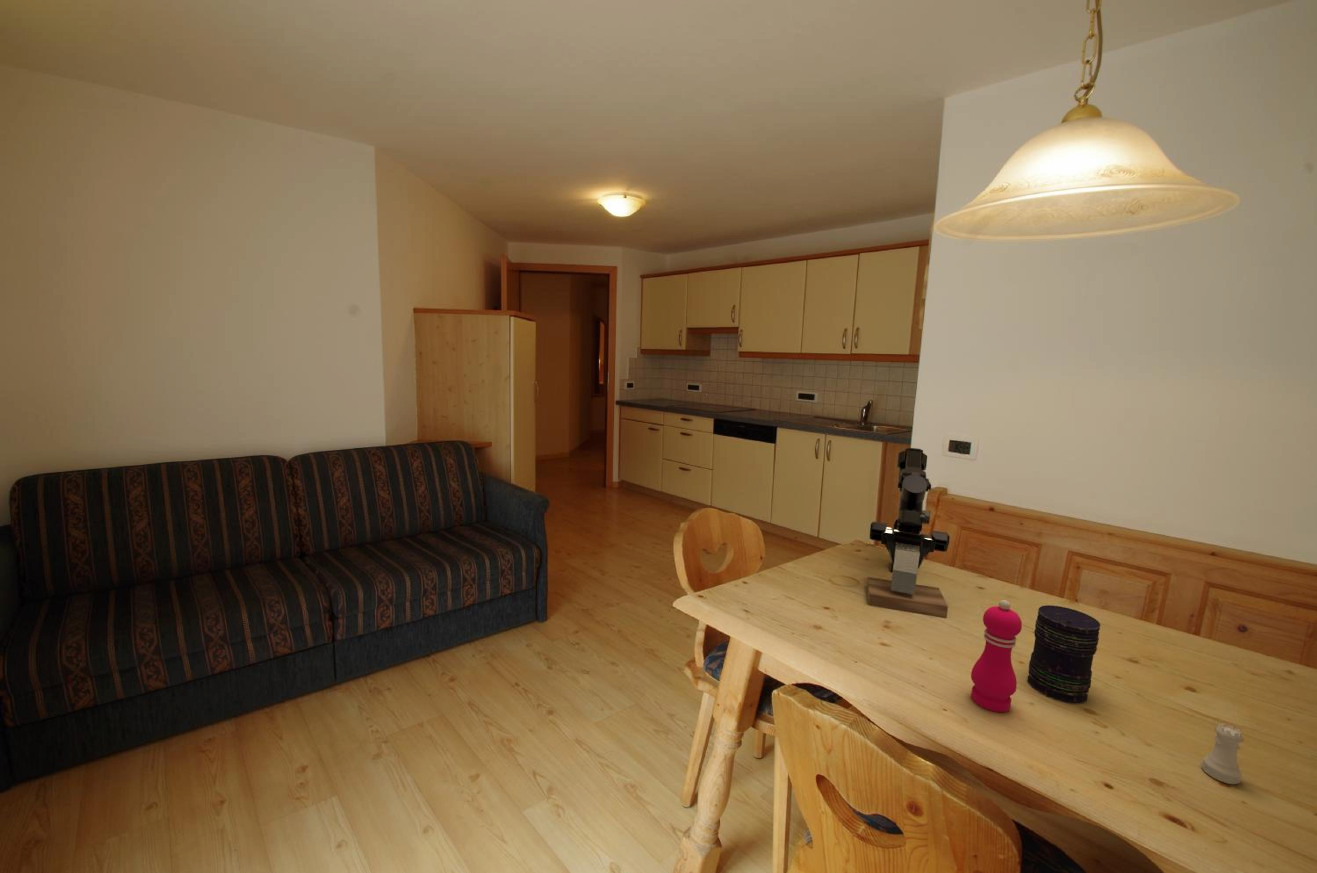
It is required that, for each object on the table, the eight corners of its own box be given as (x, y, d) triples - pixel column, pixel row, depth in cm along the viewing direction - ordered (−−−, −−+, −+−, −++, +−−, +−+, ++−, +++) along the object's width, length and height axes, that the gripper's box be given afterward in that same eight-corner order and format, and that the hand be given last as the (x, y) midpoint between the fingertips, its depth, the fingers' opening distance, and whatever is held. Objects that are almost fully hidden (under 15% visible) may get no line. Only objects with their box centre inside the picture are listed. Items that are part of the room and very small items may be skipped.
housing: (891, 582, 145) (896, 542, 144) (914, 586, 143) (919, 546, 142) (890, 590, 140) (895, 548, 139) (914, 594, 138) (919, 553, 137)
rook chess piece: (1209, 780, 85) (1220, 733, 84) (1194, 761, 89) (1203, 716, 88) (1247, 789, 83) (1258, 742, 82) (1229, 769, 88) (1240, 723, 86)
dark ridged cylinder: (1027, 668, 115) (1038, 600, 112) (1086, 686, 109) (1099, 615, 107) (1025, 690, 107) (1037, 618, 104) (1089, 711, 101) (1103, 635, 99)
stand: (866, 587, 152) (867, 577, 152) (937, 598, 147) (938, 587, 147) (868, 605, 141) (870, 594, 140) (946, 618, 136) (948, 606, 135)
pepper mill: (960, 689, 106) (974, 590, 103) (998, 691, 106) (1013, 593, 103) (981, 713, 99) (996, 608, 96) (1022, 715, 99) (1038, 610, 96)
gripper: (874, 491, 146) (867, 544, 137) (953, 502, 138) (951, 558, 130) (872, 513, 154) (866, 563, 146) (947, 524, 147) (945, 578, 138)
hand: (905, 565), depth 140 cm, fingers closed on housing, 5 cm apart
